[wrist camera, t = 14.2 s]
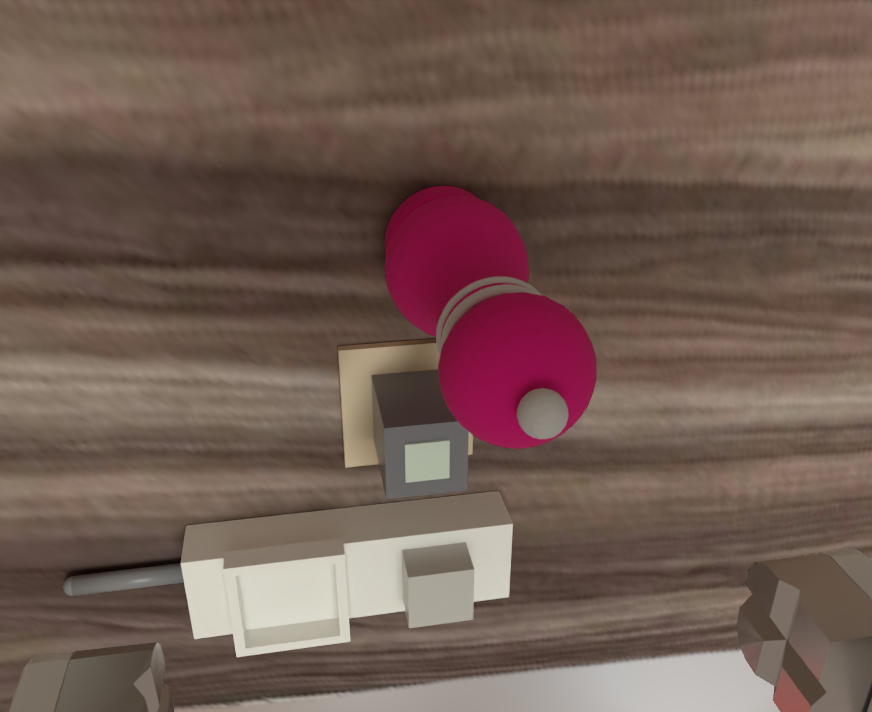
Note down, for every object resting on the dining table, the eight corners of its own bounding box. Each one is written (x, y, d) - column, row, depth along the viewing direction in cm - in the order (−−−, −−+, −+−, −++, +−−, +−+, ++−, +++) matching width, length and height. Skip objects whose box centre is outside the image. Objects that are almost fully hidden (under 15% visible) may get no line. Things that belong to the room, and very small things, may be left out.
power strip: (498, 485, 53) (524, 544, 48) (495, 566, 56) (518, 630, 51) (54, 533, 48) (28, 605, 43) (77, 619, 52) (55, 695, 46)
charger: (446, 368, 48) (469, 421, 42) (446, 433, 50) (467, 491, 44) (371, 375, 47) (384, 429, 41) (373, 440, 49) (386, 500, 43)
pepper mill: (529, 230, 45) (692, 405, 28) (444, 323, 47) (549, 545, 29) (434, 148, 42) (552, 286, 25) (348, 251, 44) (400, 449, 26)
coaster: (472, 335, 48) (475, 339, 47) (470, 449, 51) (472, 454, 51) (337, 346, 46) (338, 350, 46) (344, 462, 50) (345, 467, 49)
